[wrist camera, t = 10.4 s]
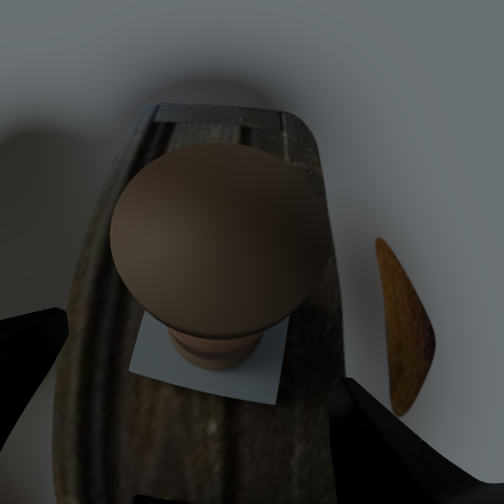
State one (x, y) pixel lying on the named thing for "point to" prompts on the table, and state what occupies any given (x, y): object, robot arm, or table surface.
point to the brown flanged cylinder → (219, 247)
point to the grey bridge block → (212, 381)
